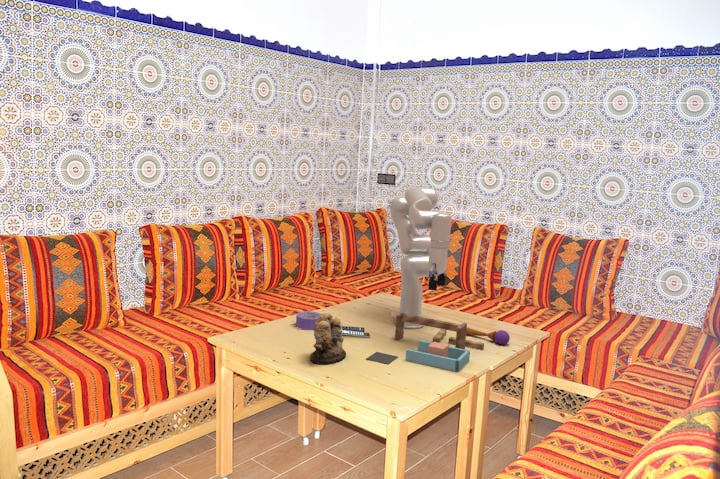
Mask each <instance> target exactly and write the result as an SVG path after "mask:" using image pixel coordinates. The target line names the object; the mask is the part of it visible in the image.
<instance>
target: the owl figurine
mask: <svg viewBox="0 0 720 479" xmlns="http://www.w3.org/2000/svg"><path fill="white" fill-rule="evenodd" d="M343 329H344V328H343V324H342V322H341V319H340V318H338V317H337V318H336V317H334V318H333V315H332V313H331V312H324V313H321V315H320V316H319V318H318V320H317V321H316V323H315V327H314V330H313V336H314V339H315V343H314V344H313V345H312V346H313V348H314V349H315V350H314V351H313V352H311V354H310V356H309V360H310V362H312V363H316V364H319V365H323V366H328V365H329V366H330V365H334V364H337V363H340V362H342V361H343V360H344V359H345V358H346V356H347V352H346V351H345V349H344V348H343V342H344V337H343Z"/></svg>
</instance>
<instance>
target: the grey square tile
mask: <svg viewBox="0 0 720 479" xmlns="http://www.w3.org/2000/svg"><path fill="white" fill-rule="evenodd" d="M398 358H399V356H398V355H393V354H389V353H383V352H379V351H376V352H374V353H372V354H371V355H369V356H368V357H366V358H365V360H367V361H371V362H377V363H380V364H384V365H390V364H391V363H392V362H394V361H395V360H397V359H398Z"/></svg>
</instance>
